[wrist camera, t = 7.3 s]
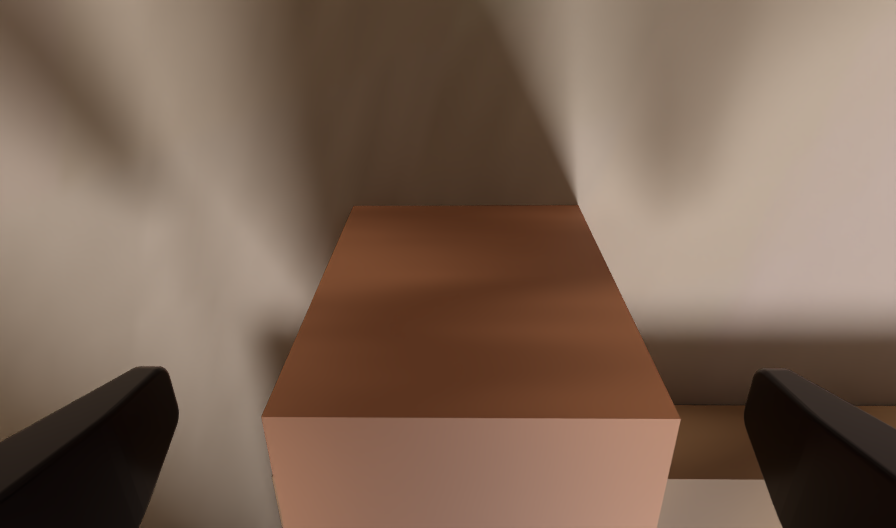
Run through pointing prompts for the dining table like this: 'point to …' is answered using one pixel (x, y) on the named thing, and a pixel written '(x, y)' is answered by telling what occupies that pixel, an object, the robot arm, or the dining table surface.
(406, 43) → the dining table surface
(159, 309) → the dining table surface
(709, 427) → the board
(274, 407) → the mallet
